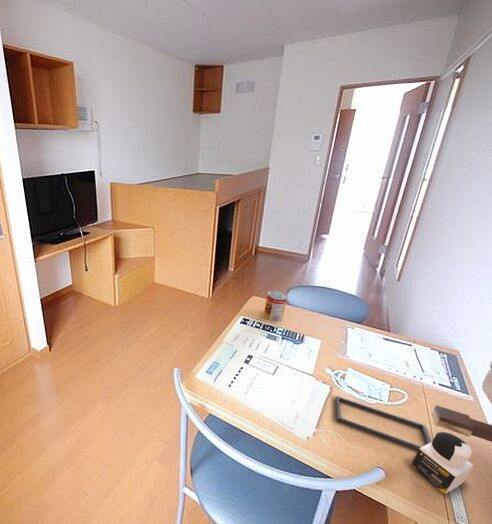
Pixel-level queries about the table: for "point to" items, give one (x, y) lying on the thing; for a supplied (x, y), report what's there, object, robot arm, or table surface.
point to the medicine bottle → (444, 461)
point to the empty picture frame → (384, 416)
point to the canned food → (275, 306)
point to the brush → (461, 423)
